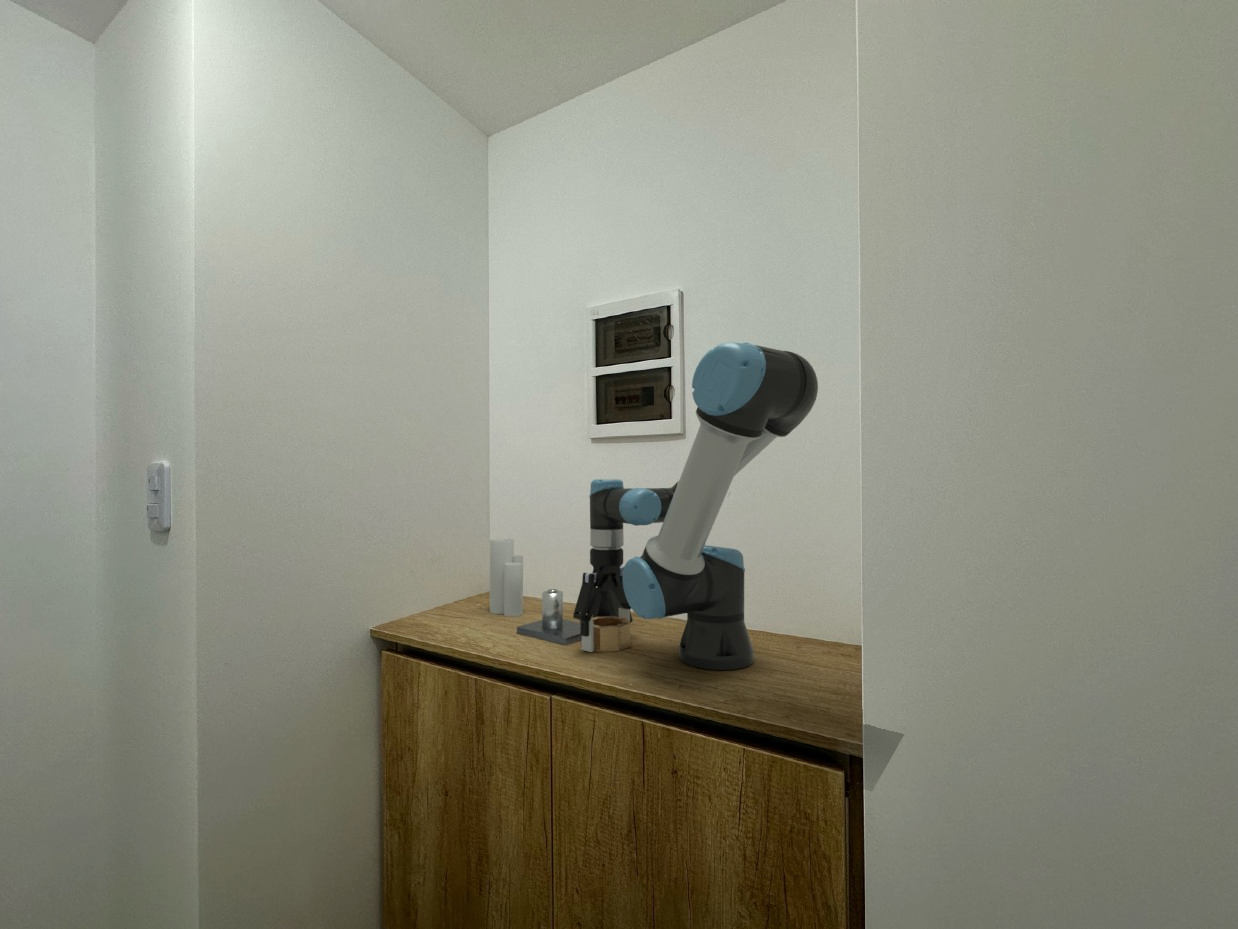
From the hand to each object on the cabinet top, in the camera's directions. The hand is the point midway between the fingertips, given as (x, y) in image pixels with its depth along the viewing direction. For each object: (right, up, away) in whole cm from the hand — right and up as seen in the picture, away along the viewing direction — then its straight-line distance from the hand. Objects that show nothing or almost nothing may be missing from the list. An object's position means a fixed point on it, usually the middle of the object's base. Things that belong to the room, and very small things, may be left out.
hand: (606, 643), depth 125 cm
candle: (-28, -1, +30) cm, 41 cm away
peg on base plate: (-12, 0, +9) cm, 15 cm away
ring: (0, 0, 0) cm, 0 cm away
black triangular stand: (+1, -1, +21) cm, 21 cm away
